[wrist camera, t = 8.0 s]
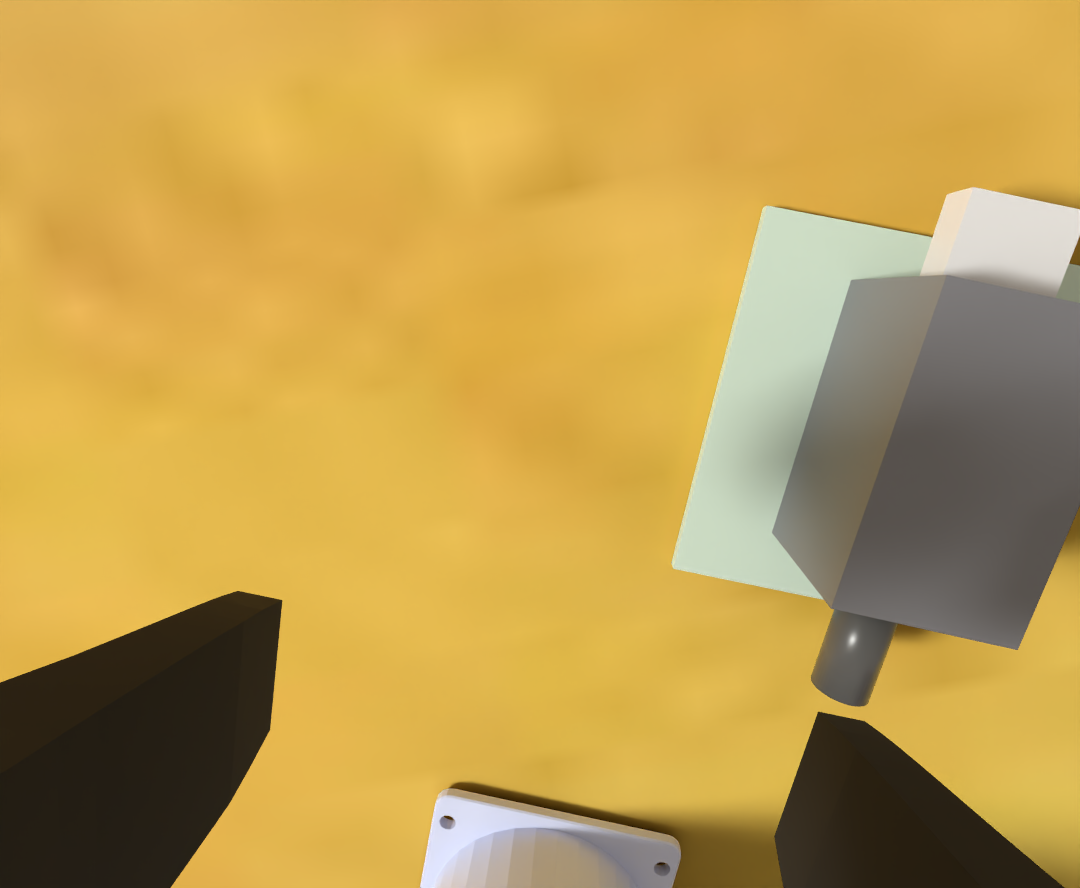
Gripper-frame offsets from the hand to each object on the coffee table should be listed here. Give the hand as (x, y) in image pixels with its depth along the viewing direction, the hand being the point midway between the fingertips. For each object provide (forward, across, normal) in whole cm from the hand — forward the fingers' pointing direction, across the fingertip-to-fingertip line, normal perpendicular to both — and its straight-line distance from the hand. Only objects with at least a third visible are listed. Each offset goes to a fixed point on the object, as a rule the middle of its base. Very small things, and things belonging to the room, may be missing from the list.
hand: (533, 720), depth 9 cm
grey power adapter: (+10, -8, -3) cm, 13 cm away
